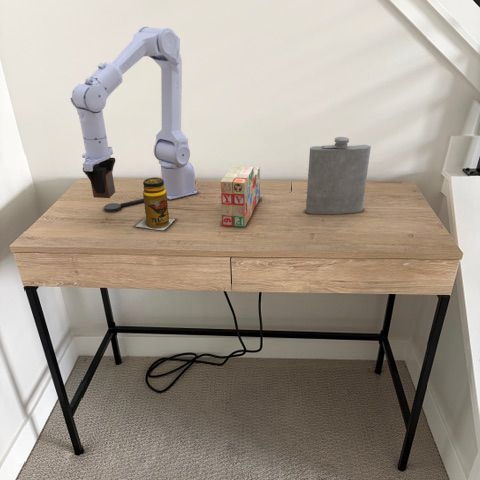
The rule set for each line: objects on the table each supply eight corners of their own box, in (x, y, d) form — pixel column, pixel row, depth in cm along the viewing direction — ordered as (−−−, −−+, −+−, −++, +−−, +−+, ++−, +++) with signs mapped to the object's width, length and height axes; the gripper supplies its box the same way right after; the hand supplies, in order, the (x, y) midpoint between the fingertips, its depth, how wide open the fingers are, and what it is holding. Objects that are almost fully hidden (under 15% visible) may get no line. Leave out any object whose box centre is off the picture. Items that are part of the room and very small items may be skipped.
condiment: (164, 230, 132) (159, 186, 125) (135, 227, 134) (128, 183, 128) (175, 220, 138) (171, 176, 131) (147, 216, 140) (141, 173, 133)
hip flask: (360, 207, 144) (370, 134, 132) (364, 213, 140) (374, 139, 129) (304, 209, 143) (309, 136, 131) (307, 215, 140) (312, 140, 128)
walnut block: (115, 192, 136) (111, 170, 133) (109, 198, 133) (105, 175, 129) (99, 191, 137) (96, 169, 134) (93, 197, 133) (89, 175, 130)
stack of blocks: (239, 196, 152) (239, 155, 145) (260, 198, 150) (260, 156, 143) (221, 225, 134) (220, 180, 127) (244, 227, 133) (244, 182, 126)
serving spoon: (152, 196, 152) (151, 193, 152) (158, 201, 149) (158, 198, 149) (102, 208, 145) (101, 205, 145) (108, 213, 142) (107, 210, 142)
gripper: (91, 128, 133) (99, 179, 140) (67, 144, 121) (78, 199, 129) (116, 129, 132) (124, 180, 140) (95, 145, 120) (104, 200, 128)
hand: (103, 189), depth 134 cm, fingers closed on walnut block, 4 cm apart
